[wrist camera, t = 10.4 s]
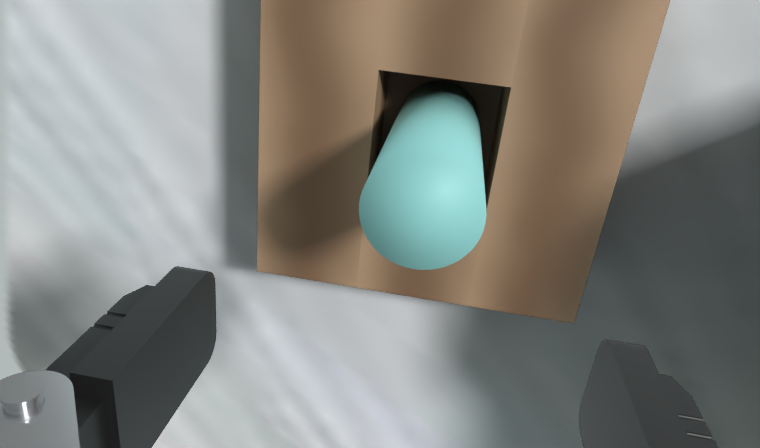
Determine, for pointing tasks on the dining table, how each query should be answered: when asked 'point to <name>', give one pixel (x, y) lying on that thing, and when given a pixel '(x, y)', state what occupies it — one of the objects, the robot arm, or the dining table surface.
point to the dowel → (428, 181)
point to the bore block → (497, 129)
